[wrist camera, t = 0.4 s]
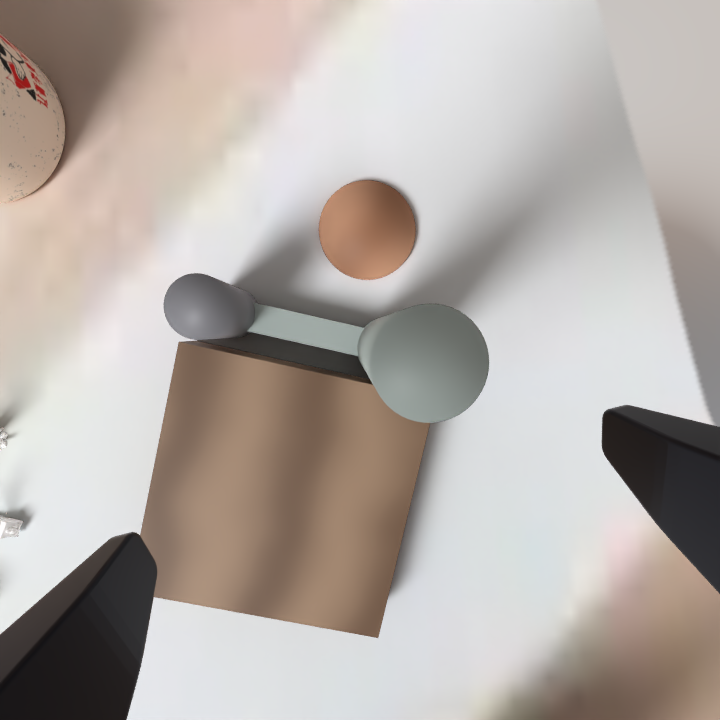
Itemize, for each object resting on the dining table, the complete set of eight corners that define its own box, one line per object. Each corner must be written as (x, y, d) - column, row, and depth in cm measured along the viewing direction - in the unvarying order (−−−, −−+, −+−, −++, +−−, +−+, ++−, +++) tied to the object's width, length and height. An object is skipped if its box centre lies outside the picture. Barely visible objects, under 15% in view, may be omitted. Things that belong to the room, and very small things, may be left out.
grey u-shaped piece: (204, 338, 23) (67, 345, 12) (217, 276, 23) (90, 221, 11) (409, 383, 24) (472, 433, 12) (424, 324, 24) (501, 318, 12)
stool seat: (150, 565, 24) (128, 592, 22) (235, 147, 23) (222, 125, 20) (374, 607, 25) (378, 637, 23) (470, 207, 24) (486, 192, 21)
